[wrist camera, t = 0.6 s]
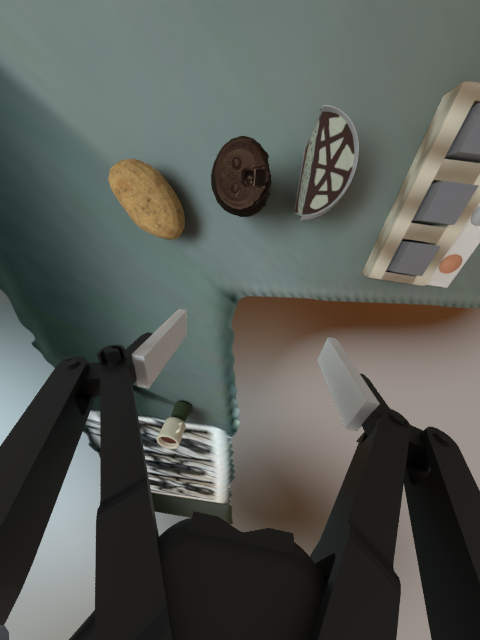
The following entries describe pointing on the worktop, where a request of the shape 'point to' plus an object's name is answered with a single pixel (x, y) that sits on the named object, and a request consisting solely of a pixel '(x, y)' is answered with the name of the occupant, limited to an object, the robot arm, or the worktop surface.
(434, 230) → the button board
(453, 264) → the pattern card
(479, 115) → the button
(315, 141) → the food container
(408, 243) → the button
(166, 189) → the potato
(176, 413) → the character mug
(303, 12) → the worktop surface
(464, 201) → the middle button
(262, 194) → the coffee cup
